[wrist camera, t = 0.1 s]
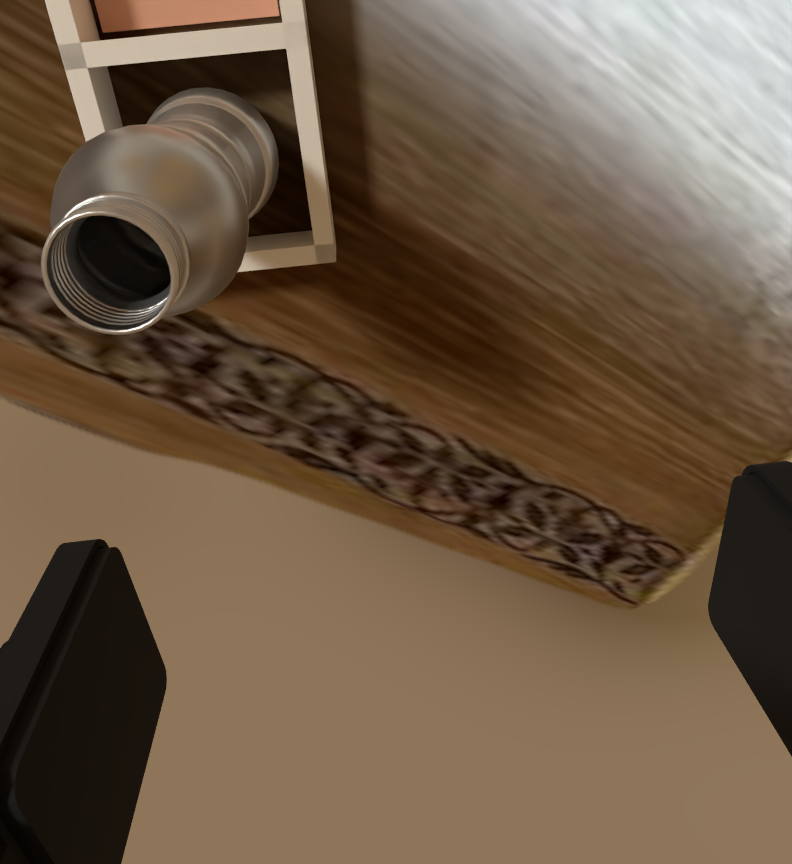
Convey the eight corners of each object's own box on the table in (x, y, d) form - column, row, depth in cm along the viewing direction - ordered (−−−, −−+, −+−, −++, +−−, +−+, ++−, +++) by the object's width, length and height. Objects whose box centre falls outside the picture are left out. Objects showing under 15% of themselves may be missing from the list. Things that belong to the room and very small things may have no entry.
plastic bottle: (306, 173, 37) (278, 309, 20) (204, 238, 39) (95, 416, 22) (234, 54, 34) (127, 96, 17) (125, 129, 36) (-74, 236, 18)
